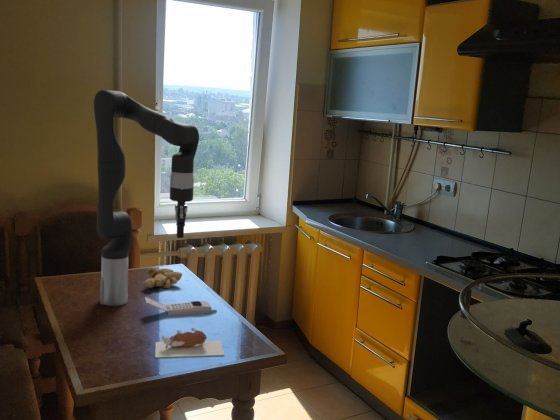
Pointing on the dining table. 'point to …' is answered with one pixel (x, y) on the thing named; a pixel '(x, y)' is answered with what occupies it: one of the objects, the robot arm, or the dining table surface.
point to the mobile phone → (182, 307)
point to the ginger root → (162, 278)
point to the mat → (189, 350)
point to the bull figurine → (185, 339)
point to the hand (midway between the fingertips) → (180, 237)
